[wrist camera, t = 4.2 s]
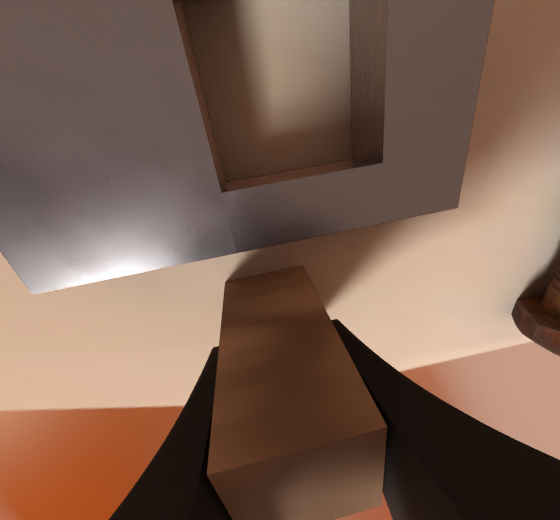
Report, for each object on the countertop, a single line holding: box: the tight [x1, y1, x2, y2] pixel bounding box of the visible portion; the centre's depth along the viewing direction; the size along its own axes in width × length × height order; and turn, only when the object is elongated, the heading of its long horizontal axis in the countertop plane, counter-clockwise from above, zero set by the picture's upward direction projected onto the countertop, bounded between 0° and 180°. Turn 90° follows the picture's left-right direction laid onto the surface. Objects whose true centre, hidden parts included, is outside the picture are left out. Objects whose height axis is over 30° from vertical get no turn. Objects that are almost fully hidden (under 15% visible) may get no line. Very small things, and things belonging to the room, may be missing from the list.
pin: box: [207, 266, 387, 520], centre depth 10 cm, size 4×4×8 cm
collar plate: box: [0, 0, 494, 295], centre depth 8 cm, size 16×10×2 cm, turn 98°
